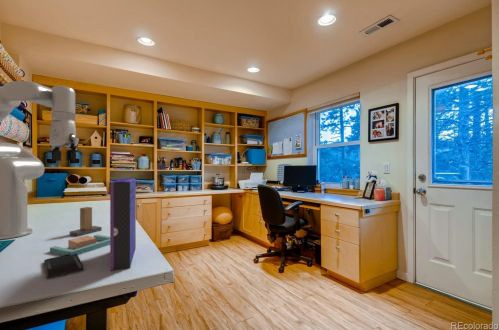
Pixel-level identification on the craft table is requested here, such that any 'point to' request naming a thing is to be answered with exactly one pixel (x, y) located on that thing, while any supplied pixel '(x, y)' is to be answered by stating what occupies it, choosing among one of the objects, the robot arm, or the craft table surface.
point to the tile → (81, 242)
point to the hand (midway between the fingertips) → (63, 160)
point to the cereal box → (122, 223)
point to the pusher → (85, 223)
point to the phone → (62, 266)
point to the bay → (63, 251)
